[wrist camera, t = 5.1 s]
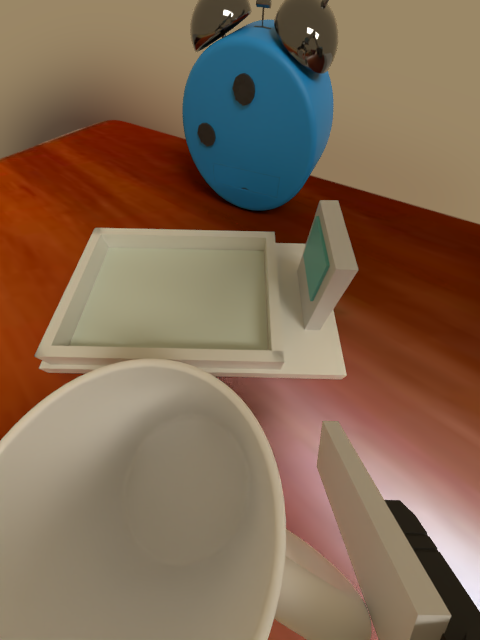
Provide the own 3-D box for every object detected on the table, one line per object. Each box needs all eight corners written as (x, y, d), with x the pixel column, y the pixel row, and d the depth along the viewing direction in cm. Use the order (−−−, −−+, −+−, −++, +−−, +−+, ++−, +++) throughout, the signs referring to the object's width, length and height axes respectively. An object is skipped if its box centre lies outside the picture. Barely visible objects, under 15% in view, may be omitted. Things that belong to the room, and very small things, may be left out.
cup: (167, 390, 18) (100, 321, 9) (330, 471, 15) (461, 488, 6) (87, 524, 14) (-177, 644, 5) (287, 659, 11) (467, 1336, 3)
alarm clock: (312, 198, 29) (372, -12, 16) (295, 229, 26) (352, 6, 13) (216, 171, 32) (202, -28, 19) (192, 197, 29) (155, -16, 16)
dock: (317, 251, 25) (348, 170, 18) (341, 379, 18) (406, 329, 11) (101, 246, 25) (49, 163, 18) (48, 372, 18) (-70, 319, 11)
